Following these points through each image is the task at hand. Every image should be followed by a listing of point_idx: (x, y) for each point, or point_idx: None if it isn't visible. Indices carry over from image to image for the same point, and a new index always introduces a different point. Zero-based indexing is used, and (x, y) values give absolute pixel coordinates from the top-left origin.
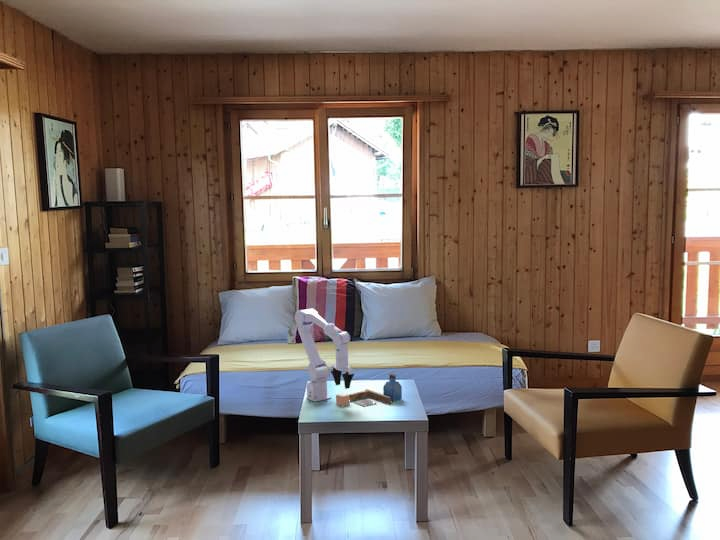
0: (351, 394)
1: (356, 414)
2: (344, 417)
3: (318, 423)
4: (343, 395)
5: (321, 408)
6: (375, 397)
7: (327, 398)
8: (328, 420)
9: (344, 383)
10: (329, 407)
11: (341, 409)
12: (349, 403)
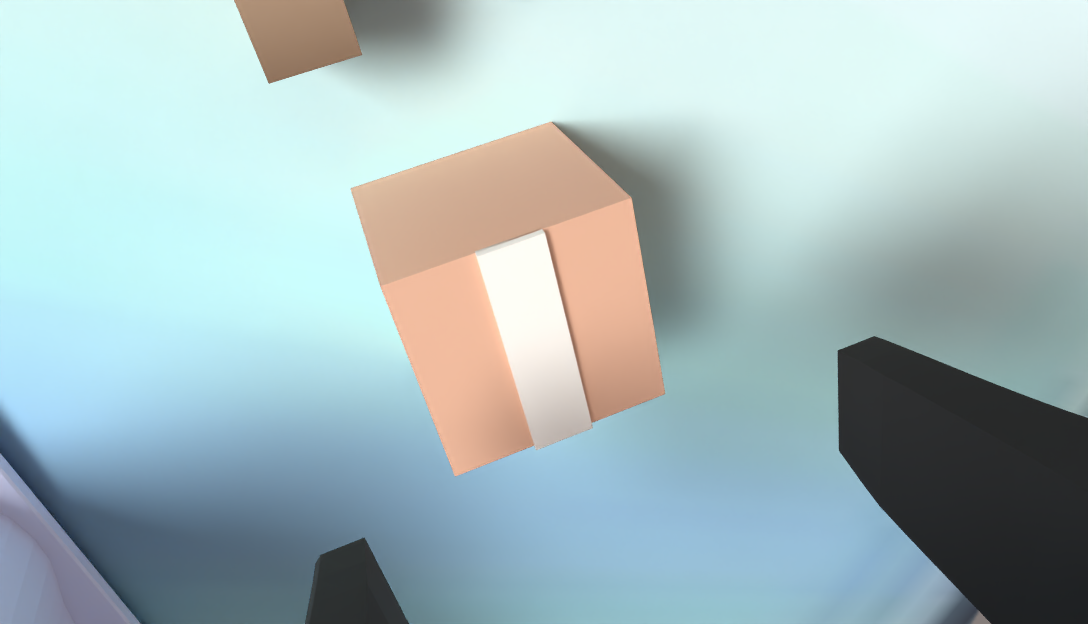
0: (312, 6)
1: (1063, 185)
2: (1034, 361)
3: None
4: (592, 337)
5: (550, 574)
6: None
7: (11, 473)
8: None
9: (961, 586)
10: (559, 476)
11: (745, 332)
12: (555, 127)
